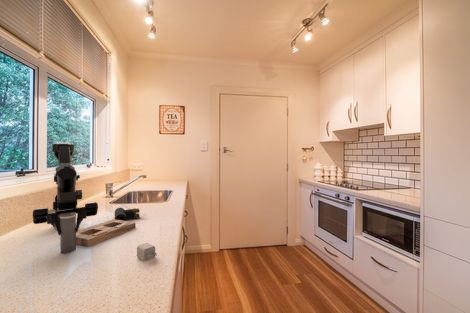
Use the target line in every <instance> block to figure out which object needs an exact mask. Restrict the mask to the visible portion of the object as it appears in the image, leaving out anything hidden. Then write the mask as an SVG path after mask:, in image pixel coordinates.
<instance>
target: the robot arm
mask: <svg viewBox="0 0 470 313" xmlns="http://www.w3.org/2000/svg"><path fill="white" fill-rule="evenodd" d="M51 148H52V152H51V153H53V156H54V158H55V159H56V160H57V162H58V164H57V166H56V167H55V173H53V183H55V184H56V185H57V187H56V189H57V190H56V195H55V197H54V201H52V209H49V207H40V208H35V209H34V210H33V211H32V221H33V224H34V225H39V224H44V223H45V224H47V225H51V226H52V227H53V228H54V229H55V231H56V233H57V235H58V236H60V214H63V213H67V212H76V232H78V230H80V226H81V223H82V222H83V220H84V219H87V217H92V216H96V215H97V214H98V211H99V210H98V209H99V204H98V202H96V201H92V202H85V203H84V206H82V207H81V206H80V207H78V200H79V201H80V200H83V190H82V189H77V190H76V185H77V181H79V179H80V178H81V175H79V174H78V171H76V168H75V166H74V165H72V161H71V158H72V156H73V153H75V144H72V143H71V142H54V143H52V147H51Z"/></svg>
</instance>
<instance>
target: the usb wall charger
mask: <svg viewBox="0 0 470 313" xmlns="http://www.w3.org/2000/svg"><path fill="white" fill-rule="evenodd" d="M156 256H158V253H157V252H156V246H155V245H153V244H151V243H149V242H145V243H142V244H139V245H137V246H136V257H137V258H138V259H140V260H141V261H143V262H147V261H150V260H152V259H155V258H156Z"/></svg>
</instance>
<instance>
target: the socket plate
mask: <svg viewBox="0 0 470 313" xmlns="http://www.w3.org/2000/svg"><path fill="white" fill-rule="evenodd" d="M134 229H136V221H135V222H134V221H128V220H126V221H122V220H116V219H115V218H112V219H109V220H107V221H103V222H100V223H97V224H94V225H90V226H87V227H84V228H81V229H80V228H79V229H78V232H76V245H80V246H85V247H91V246H94V245H95V244H98V243H101V242H103V241H106V240H108V239H111V238H113V237H116V236H119V235H121V234H124V233H126V232H129V231H131V230H134Z"/></svg>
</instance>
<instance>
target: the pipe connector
mask: <svg viewBox="0 0 470 313" xmlns="http://www.w3.org/2000/svg"><path fill="white" fill-rule="evenodd" d="M140 217H141V216H140V208H135V207H134V208H131V209H129V208H128V209H125V208H123V207H117V208H115V209H114V219H116V220H122V221H128V220H133V219H139V218H140Z"/></svg>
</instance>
